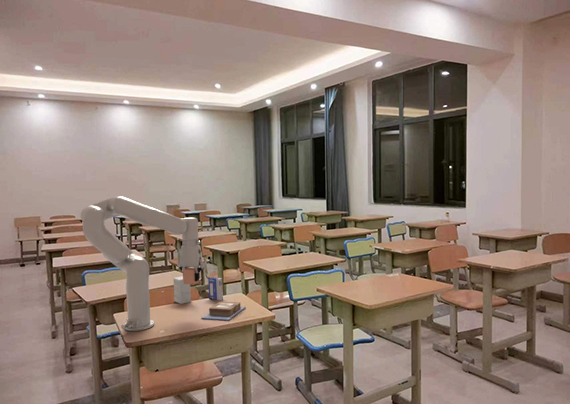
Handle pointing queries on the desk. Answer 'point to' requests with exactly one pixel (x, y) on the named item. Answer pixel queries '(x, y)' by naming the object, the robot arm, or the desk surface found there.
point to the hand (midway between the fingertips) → (191, 280)
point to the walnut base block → (224, 308)
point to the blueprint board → (222, 316)
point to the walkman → (215, 288)
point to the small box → (181, 291)
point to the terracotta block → (189, 276)
